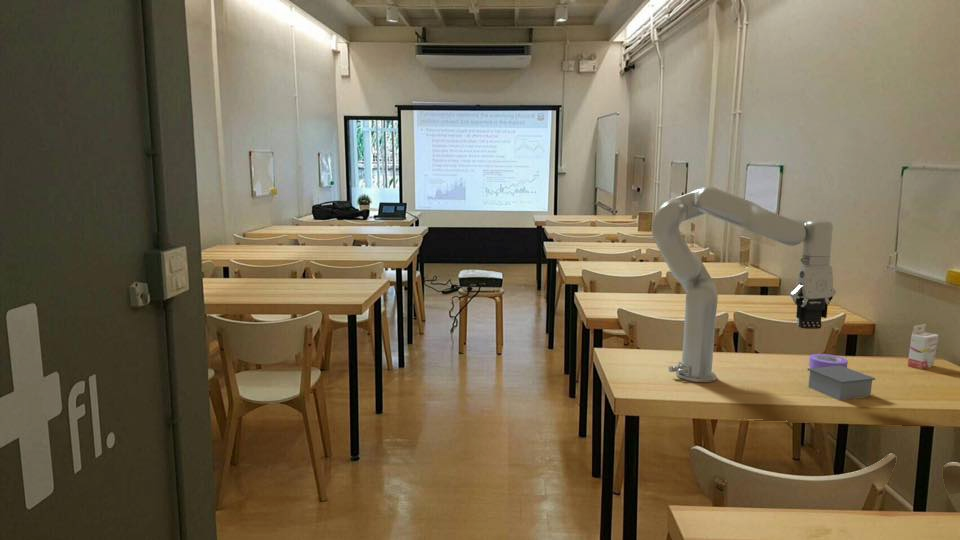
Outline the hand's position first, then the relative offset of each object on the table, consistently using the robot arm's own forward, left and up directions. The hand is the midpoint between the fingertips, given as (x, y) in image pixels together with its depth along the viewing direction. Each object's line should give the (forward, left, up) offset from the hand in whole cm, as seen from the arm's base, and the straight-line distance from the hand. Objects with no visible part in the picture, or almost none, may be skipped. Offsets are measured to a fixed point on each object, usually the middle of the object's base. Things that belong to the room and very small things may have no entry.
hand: (811, 317), depth 198 cm
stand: (+9, -4, -23) cm, 26 cm away
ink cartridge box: (+60, +9, -24) cm, 65 cm away
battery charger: (0, 0, -4) cm, 4 cm away
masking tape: (+25, +16, -24) cm, 38 cm away
